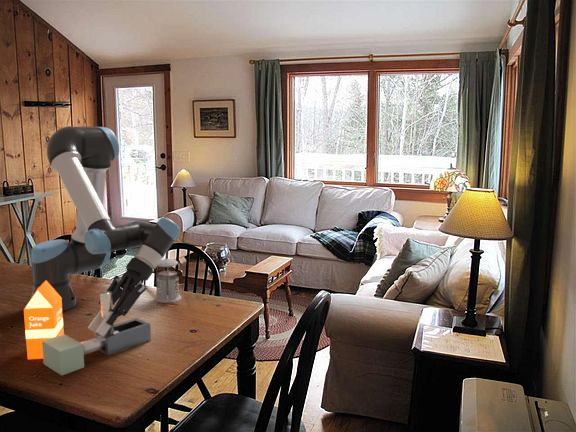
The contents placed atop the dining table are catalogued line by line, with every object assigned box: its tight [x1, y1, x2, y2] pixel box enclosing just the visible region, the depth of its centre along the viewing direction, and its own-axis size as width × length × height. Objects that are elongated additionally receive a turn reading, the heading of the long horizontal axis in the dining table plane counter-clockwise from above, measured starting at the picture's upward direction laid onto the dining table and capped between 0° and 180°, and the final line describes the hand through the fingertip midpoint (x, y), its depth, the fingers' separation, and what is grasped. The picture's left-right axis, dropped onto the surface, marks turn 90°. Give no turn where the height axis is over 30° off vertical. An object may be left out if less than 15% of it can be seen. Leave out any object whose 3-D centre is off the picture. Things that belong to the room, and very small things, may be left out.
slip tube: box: [79, 290, 118, 356], centre depth 142 cm, size 14×4×16 cm, turn 141°
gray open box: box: [93, 317, 152, 357], centre depth 150 cm, size 14×7×5 cm, turn 141°
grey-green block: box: [42, 333, 85, 376], centre depth 136 cm, size 6×10×7 cm, turn 51°
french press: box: [154, 257, 182, 304], centre depth 188 cm, size 10×12×25 cm
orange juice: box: [23, 281, 65, 360], centre depth 143 cm, size 8×9×20 cm
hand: (95, 331), depth 142 cm, fingers open, 3 cm apart
